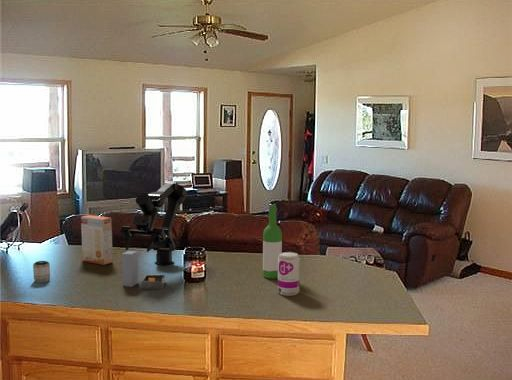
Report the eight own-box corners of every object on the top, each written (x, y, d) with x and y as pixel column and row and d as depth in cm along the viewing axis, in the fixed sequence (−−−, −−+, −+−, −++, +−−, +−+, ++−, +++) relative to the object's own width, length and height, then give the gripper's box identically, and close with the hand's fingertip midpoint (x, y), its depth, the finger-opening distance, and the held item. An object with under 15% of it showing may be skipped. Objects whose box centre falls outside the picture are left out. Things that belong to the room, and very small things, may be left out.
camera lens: (44, 277, 235) (43, 259, 234) (53, 280, 232) (52, 261, 231) (30, 281, 230) (29, 262, 229) (39, 284, 227) (39, 264, 226)
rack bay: (145, 282, 230) (145, 272, 229) (165, 282, 230) (164, 271, 229) (141, 288, 221) (141, 278, 220) (162, 288, 221) (161, 278, 221)
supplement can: (292, 297, 211) (293, 258, 209) (273, 293, 216) (273, 255, 214) (303, 292, 218) (303, 253, 216) (284, 288, 223) (284, 250, 221)
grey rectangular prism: (128, 282, 230) (128, 250, 228) (138, 283, 229) (137, 251, 227) (122, 285, 225) (122, 253, 223) (132, 286, 224) (131, 254, 222)
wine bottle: (283, 279, 235) (284, 206, 231) (264, 279, 234) (265, 207, 230) (279, 273, 243) (280, 203, 239) (261, 274, 241) (261, 204, 237)
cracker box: (113, 262, 259) (112, 217, 256) (103, 265, 254) (101, 219, 251) (92, 258, 267) (90, 214, 264) (81, 261, 262) (80, 216, 259)
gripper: (121, 206, 236) (108, 238, 227) (163, 208, 232) (151, 241, 222) (130, 222, 245) (118, 253, 236) (171, 224, 240) (160, 256, 231)
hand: (136, 250), depth 231 cm, fingers open, 9 cm apart
